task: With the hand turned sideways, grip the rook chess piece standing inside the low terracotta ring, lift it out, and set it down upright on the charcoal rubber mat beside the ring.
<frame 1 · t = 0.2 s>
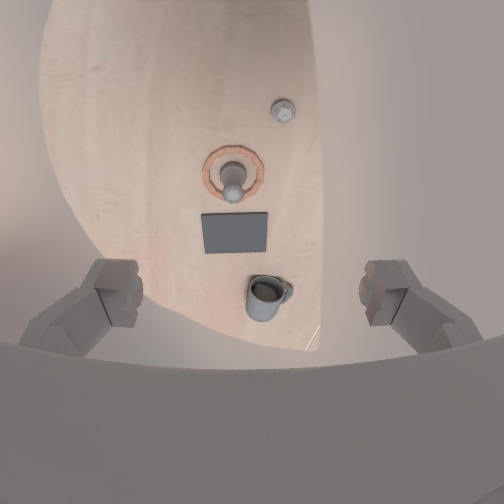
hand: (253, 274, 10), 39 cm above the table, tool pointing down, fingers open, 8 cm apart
ceramic mug: (268, 286, 68), on the table
charcoal mat: (234, 232, 58), on the table
rook chess piece: (233, 172, 50), resting in terracotta ring
terracotta ring: (233, 173, 49), on the table
game die: (282, 109, 43), on the table
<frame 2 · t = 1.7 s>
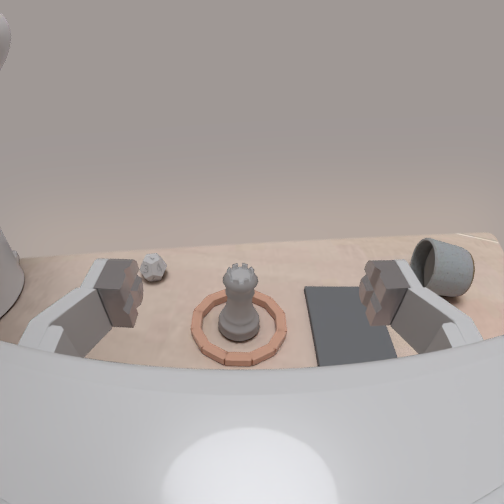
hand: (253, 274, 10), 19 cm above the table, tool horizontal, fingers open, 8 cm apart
ceramic mug: (428, 283, 39), on the table
charcoal mat: (348, 326, 33), on the table
rook chess piece: (238, 328, 32), resting in terracotta ring
terracotta ring: (238, 327, 32), on the table
game die: (155, 277, 38), on the table
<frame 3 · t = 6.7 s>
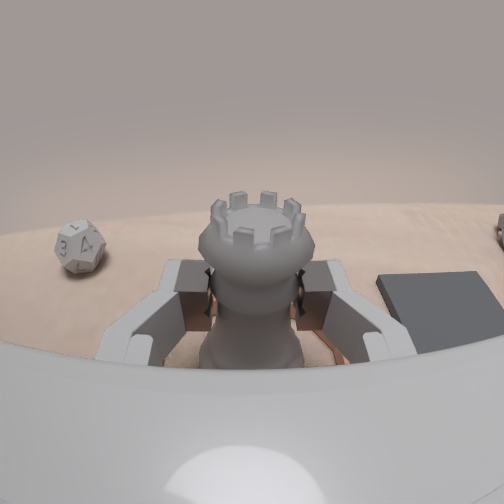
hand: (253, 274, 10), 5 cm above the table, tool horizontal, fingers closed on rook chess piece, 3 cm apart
charcoal mat: (469, 347, 13), on the table
rook chess piece: (250, 376, 13), resting in terracotta ring, touching gripper
terracotta ring: (250, 373, 13), on the table
game die: (87, 267, 19), on the table
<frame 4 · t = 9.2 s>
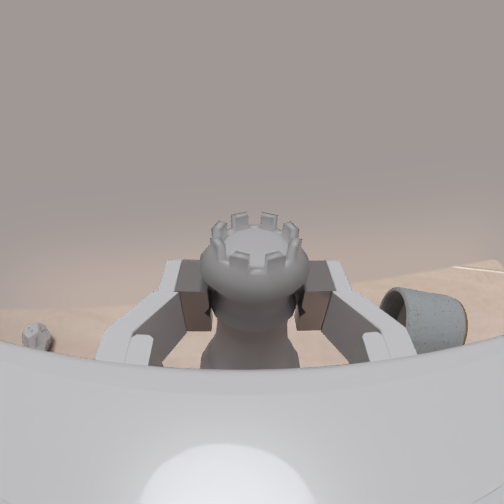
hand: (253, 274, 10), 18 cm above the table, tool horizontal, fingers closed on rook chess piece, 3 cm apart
ceramic mug: (402, 342, 29), on the table
rook chess piece: (249, 383, 13), point 12 cm above the table, touching gripper
game die: (43, 348, 26), on the table
when the fingers open (7 cm above the table, at t = 12.0 s): rook chess piece stays where it is, resting on charcoal mat.
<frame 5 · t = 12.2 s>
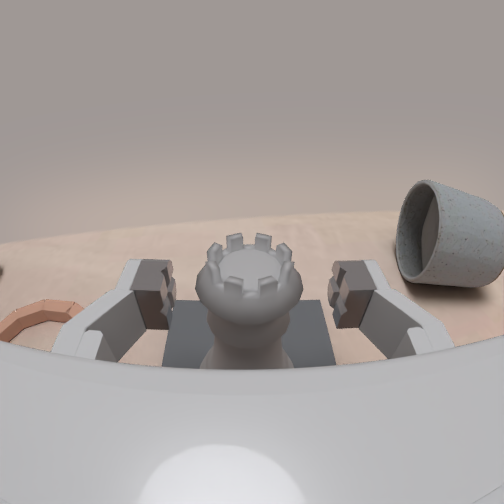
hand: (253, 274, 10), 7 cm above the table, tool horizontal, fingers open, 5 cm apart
ceramic mug: (430, 266, 23), on the table
charcoal mat: (250, 393, 14), on the table
rook chess piece: (246, 391, 13), resting on charcoal mat
terracotta ring: (38, 369, 13), on the table
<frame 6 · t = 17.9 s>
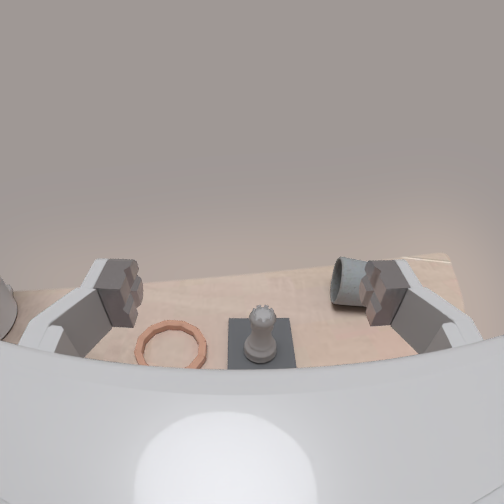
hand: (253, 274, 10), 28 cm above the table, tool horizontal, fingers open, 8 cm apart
ceramic mug: (350, 294, 50), on the table
charcoal mat: (260, 353, 40), on the table
rook chess piece: (259, 352, 40), resting on charcoal mat
terracotta ring: (171, 351, 39), on the table
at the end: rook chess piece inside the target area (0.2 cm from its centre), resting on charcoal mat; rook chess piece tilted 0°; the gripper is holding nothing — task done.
